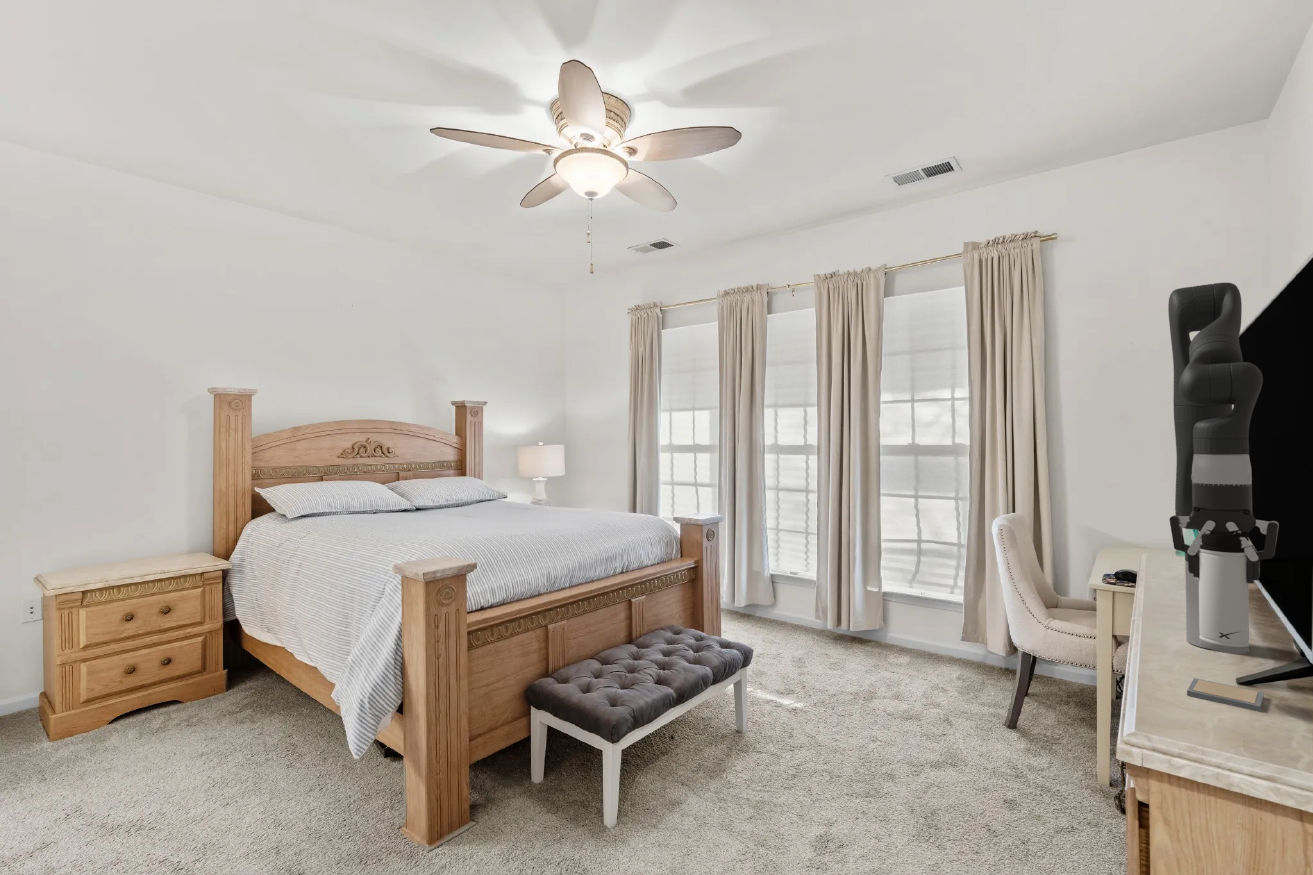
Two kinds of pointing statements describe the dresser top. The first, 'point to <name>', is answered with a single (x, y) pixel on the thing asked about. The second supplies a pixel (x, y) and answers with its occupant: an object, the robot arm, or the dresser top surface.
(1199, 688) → the slate coaster
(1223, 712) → the dresser top surface
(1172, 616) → the dresser top surface
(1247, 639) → the travel mug
